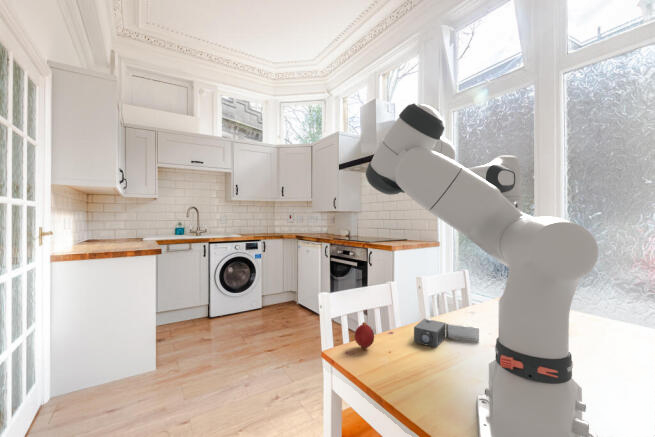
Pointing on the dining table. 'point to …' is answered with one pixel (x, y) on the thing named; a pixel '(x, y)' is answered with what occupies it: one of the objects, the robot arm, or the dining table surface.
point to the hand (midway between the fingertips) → (505, 249)
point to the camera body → (430, 332)
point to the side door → (462, 332)
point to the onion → (364, 335)
